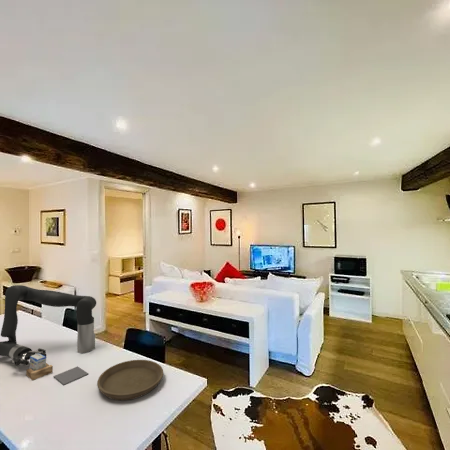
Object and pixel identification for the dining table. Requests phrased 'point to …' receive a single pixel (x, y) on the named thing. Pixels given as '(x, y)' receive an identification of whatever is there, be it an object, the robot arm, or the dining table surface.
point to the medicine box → (37, 361)
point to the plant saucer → (130, 379)
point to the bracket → (39, 372)
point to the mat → (70, 375)
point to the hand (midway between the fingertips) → (37, 359)
